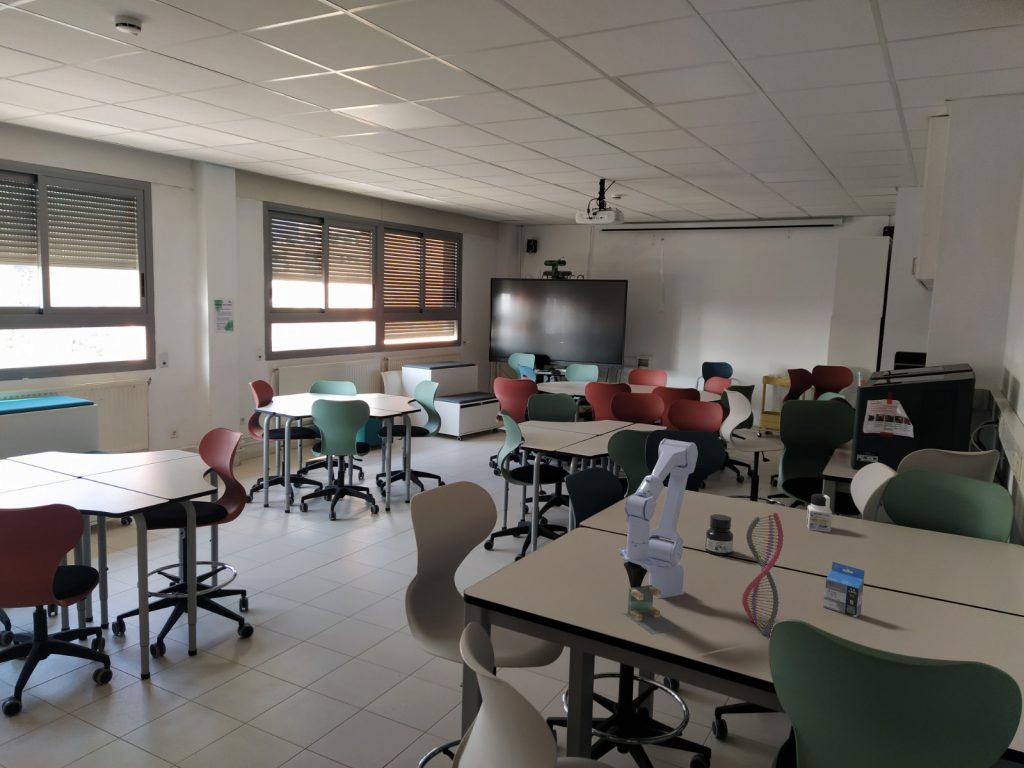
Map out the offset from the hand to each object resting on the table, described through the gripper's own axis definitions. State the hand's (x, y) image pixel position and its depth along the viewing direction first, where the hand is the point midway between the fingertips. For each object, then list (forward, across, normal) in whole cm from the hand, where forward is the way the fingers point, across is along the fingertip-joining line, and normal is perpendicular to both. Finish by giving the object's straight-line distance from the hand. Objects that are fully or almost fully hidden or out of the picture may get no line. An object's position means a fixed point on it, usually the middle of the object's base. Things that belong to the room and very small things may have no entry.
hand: (635, 589), depth 190 cm
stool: (+5, +4, 0) cm, 7 cm away
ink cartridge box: (+6, +20, +54) cm, 58 cm away
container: (+6, -38, +109) cm, 115 cm away
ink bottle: (+6, -30, +54) cm, 62 cm away
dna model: (+6, +20, +24) cm, 32 cm away
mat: (+6, +8, 0) cm, 10 cm away
